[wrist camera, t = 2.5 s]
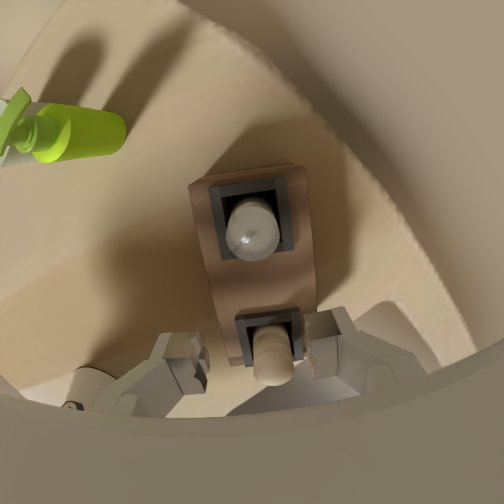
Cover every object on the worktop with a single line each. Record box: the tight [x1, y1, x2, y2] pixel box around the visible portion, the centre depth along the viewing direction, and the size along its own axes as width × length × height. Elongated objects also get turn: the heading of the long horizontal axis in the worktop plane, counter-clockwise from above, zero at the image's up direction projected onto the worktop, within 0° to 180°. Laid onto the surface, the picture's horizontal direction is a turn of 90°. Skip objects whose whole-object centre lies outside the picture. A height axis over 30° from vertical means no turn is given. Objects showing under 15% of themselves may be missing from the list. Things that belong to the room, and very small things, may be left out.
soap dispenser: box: [0, 87, 127, 163], centre depth 22 cm, size 6×7×20 cm
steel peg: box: [226, 193, 280, 261], centre depth 25 cm, size 4×4×8 cm
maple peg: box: [253, 322, 294, 386], centre depth 30 cm, size 4×4×8 cm
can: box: [0, 99, 53, 168], centre depth 25 cm, size 9×9×12 cm
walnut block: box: [188, 163, 317, 367], centre depth 33 cm, size 22×11×10 cm, turn 9°
